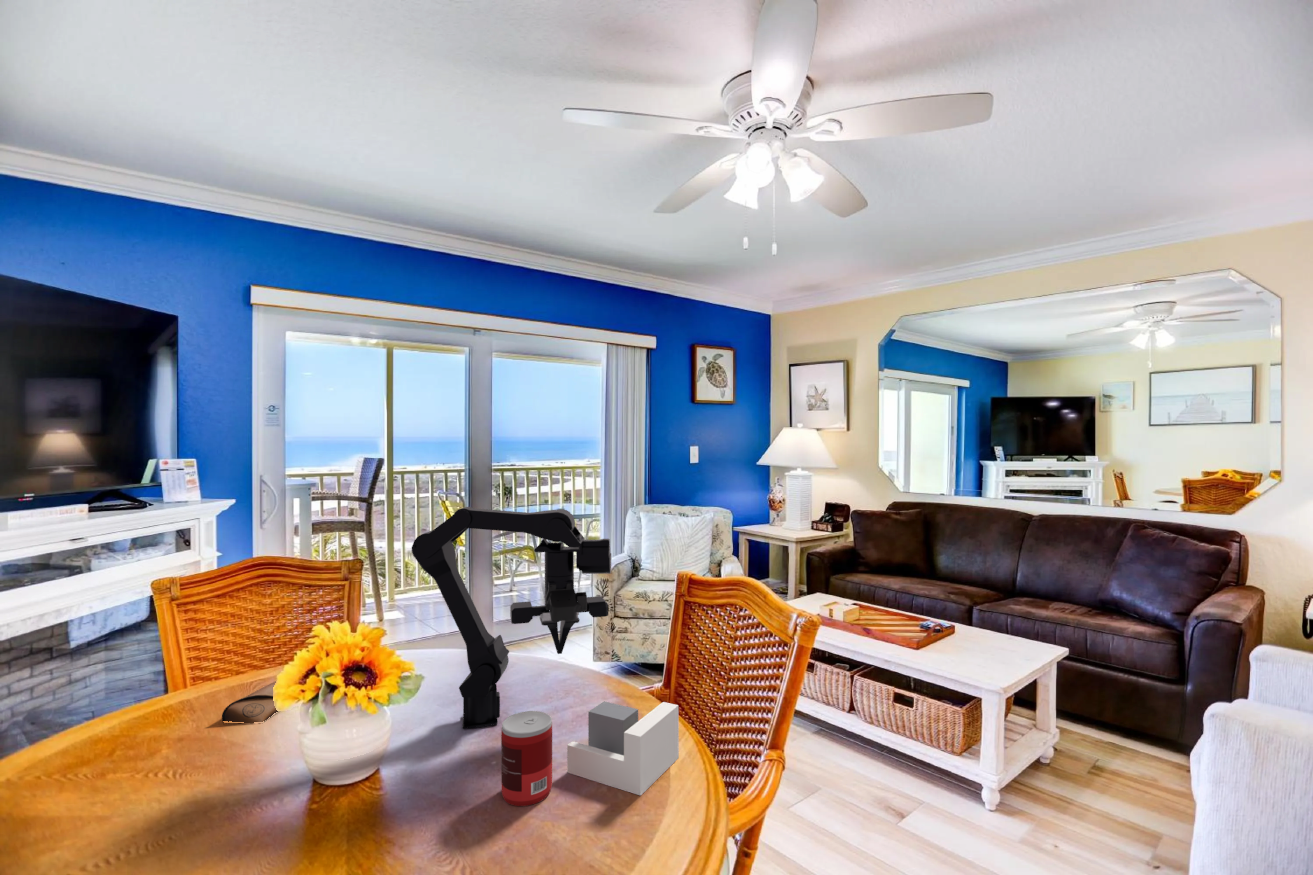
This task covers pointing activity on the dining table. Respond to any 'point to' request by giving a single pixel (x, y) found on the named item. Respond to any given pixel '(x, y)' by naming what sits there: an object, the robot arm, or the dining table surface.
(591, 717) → the plug
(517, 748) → the canned food
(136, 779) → the dining table surface
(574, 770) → the socket
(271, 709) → the sunglasses case
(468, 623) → the robot arm
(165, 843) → the dining table surface
